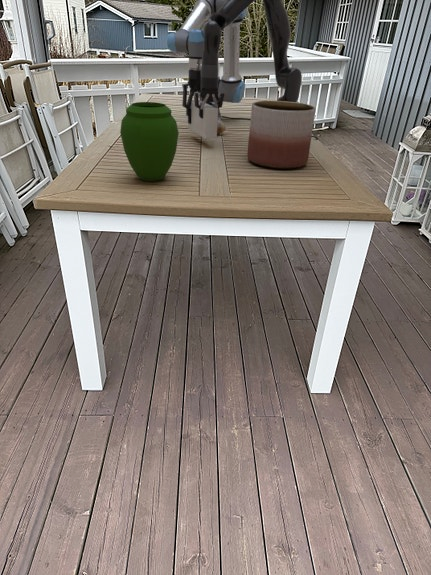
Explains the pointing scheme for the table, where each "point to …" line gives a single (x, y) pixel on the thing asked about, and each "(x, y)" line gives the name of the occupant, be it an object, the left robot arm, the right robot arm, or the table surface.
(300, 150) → the planter
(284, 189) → the table surface
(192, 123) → the box
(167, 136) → the vase
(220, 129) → the seashell
